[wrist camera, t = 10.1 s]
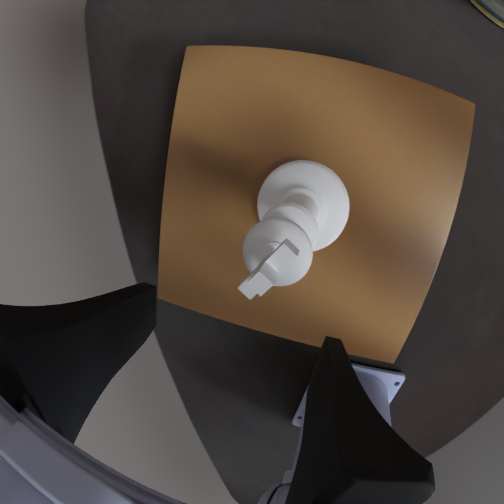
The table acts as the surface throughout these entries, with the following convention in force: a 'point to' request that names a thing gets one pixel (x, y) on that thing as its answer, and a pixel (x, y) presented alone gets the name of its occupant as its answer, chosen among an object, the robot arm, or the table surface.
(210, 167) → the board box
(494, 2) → the apothecary jar
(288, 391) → the table surface
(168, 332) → the table surface
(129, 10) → the table surface
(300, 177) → the chess piece
